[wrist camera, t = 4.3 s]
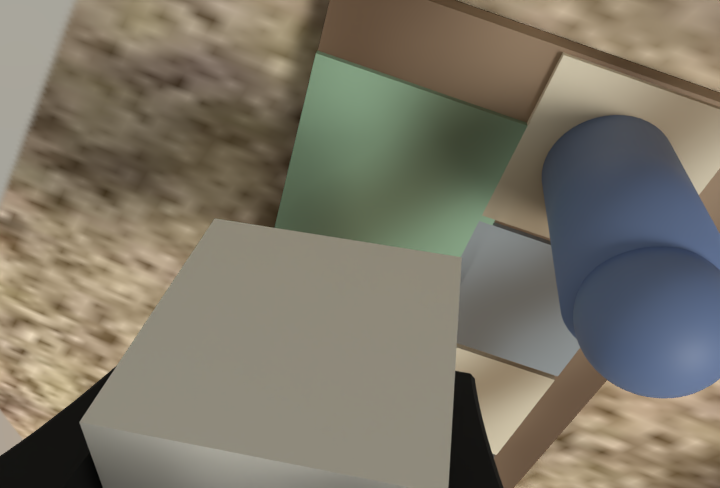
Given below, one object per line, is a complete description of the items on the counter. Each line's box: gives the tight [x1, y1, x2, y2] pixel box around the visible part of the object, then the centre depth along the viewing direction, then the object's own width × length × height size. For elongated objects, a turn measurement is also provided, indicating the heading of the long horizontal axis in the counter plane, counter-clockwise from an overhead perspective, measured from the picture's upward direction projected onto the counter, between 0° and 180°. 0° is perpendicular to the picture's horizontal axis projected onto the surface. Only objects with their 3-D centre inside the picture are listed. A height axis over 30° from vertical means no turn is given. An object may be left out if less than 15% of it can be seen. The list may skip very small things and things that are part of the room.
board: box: [275, 0, 720, 488], centre depth 20 cm, size 12×20×1 cm, turn 164°
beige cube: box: [79, 219, 462, 488], centre depth 11 cm, size 5×5×5 cm
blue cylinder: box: [542, 115, 720, 398], centre depth 12 cm, size 3×3×7 cm
